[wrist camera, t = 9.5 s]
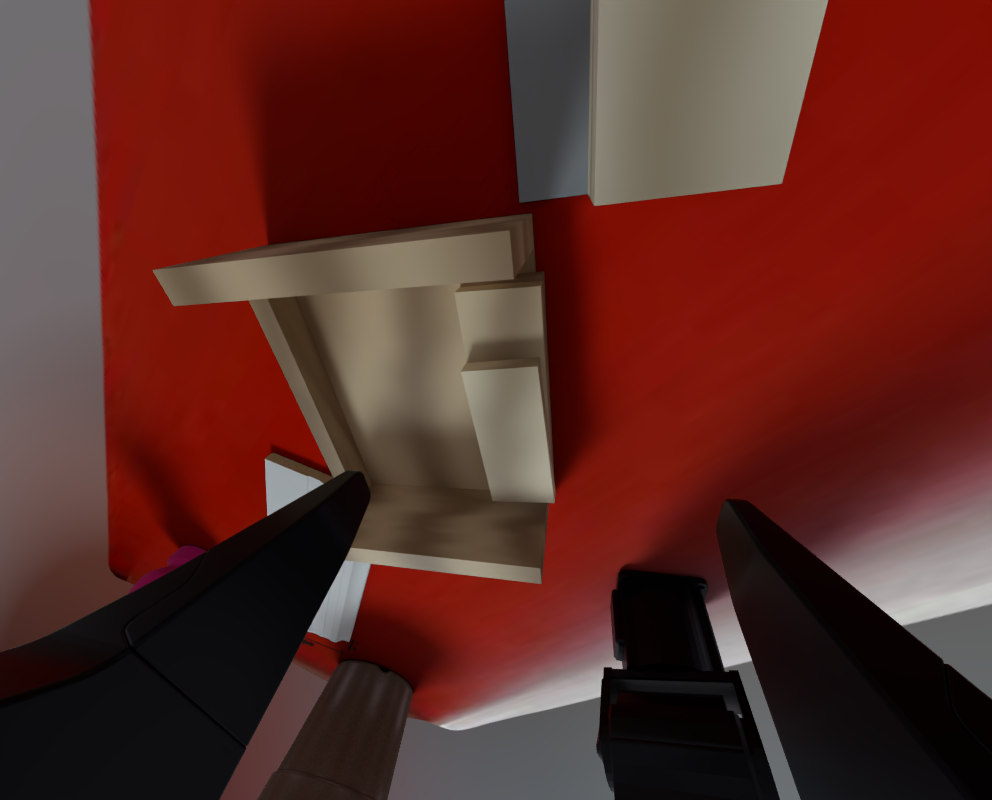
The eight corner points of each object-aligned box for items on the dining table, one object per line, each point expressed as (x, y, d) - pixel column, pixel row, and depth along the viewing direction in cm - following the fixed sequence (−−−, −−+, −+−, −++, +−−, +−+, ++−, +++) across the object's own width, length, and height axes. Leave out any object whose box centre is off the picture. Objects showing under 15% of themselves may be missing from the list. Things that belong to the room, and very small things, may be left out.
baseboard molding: (407, 500, 31) (278, 446, 30) (392, 528, 28) (251, 470, 28) (362, 638, 48) (280, 605, 48) (351, 663, 45) (263, 627, 45)
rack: (532, 213, 17) (509, 230, 11) (549, 500, 26) (541, 583, 21) (267, 245, 20) (152, 270, 15) (369, 488, 30) (322, 557, 24)
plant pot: (383, 648, 47) (304, 837, 33) (448, 704, 53) (404, 882, 40) (305, 652, 53) (213, 811, 40) (371, 701, 60) (311, 853, 46)
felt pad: (875, -294, 9) (886, -312, 9) (768, 170, 14) (773, 170, 14) (494, -154, 11) (491, -164, 11) (520, 202, 16) (519, 202, 16)
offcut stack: (549, 271, 17) (543, 287, 14) (557, 483, 24) (555, 519, 22) (464, 277, 18) (446, 294, 15) (496, 480, 25) (487, 514, 23)
